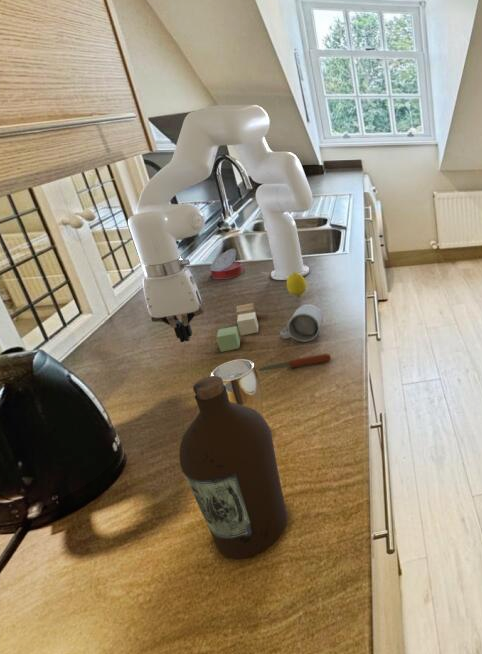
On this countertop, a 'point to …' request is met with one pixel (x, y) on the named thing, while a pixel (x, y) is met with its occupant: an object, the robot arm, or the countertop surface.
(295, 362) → the kitchen knife
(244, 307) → the birch block
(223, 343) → the sage block
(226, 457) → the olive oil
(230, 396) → the beer glass
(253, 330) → the cream block
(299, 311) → the ceramic mug
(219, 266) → the canned food
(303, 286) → the lemon
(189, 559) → the countertop surface
